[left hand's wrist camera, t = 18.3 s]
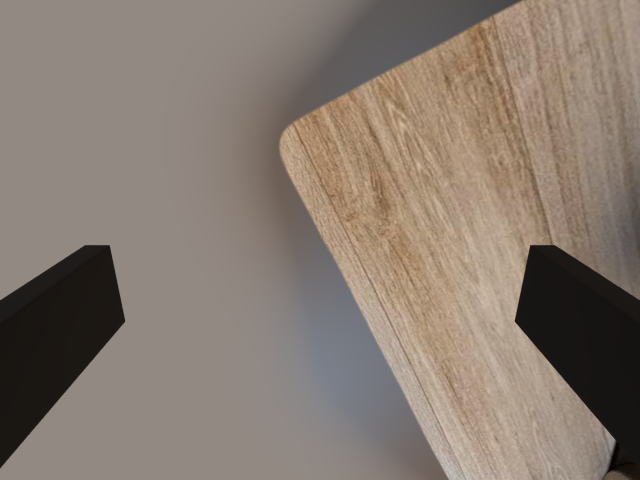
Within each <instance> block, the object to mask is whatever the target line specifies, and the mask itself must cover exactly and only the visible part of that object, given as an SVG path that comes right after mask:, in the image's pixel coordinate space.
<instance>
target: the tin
mask: <svg viewBox="0 0 640 480" xmlns="http://www.w3.org/2000/svg"><path fill="white" fill-rule="evenodd" d="M603 480H640V468H639V467H638V466H637V464H633V463H631V464H624V465H620V466H618V467H615V468H614V469H612V470H610V471H609V472H608V473H607V474H606V475H605V477H604V478H603Z"/></svg>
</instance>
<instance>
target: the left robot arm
mask: <svg viewBox="0 0 640 480" xmlns="http://www.w3.org/2000/svg"><path fill="white" fill-rule="evenodd" d="M124 322H125V318H124V313H123V308H122V303H121V298H120V293H119V289H118V284H117V279H116V274H115V269H114V264H113V259H112V254H111V250H110V246H109V245H85V246H83V247H82V248H80V249H79V250H77V251H76V252H74V253H72V254H71V255H69V256H68V257H66V258H65V259H63V260H62V261H60V262H59V263H57V264H56V265H54V266H52V267H51V268H49V269H48V270H46V271H45V272H43V273H42V274H40V275H39V276H37V277H35V278H34V279H33V280H31V281H29V282H28V283H26V284H25V285H23V286H22V287H20V288H19V289H17V290H15V291H14V292H12V293H11V294H9V295H8V296H6V297H5V298H3V299H2V300H0V468H1V467H2V466H3V464H4V463H5V462H6V461H7V460H8V459H9V457H10V456H11V455H12V454H13V453H14V451H15V450H16V449H17V448H18V447H19V446H20V444H21V443H22V442H23V441H24V440H25V439H26V437H27V436H28V435H29V434H30V433H31V431H32V430H33V429H34V428H35V427H36V426H37V425H38V423H39V422H40V421H41V420H42V419H43V417H44V416H45V415H46V414H47V413H48V412H49V410H50V409H51V408H52V407H53V406H54V404H55V403H56V402H57V401H58V400H59V399H60V397H61V396H62V395H63V394H64V393H65V392H66V390H67V389H68V388H69V387H70V386H71V385H72V383H73V382H74V381H75V380H76V379H77V377H78V376H79V375H80V374H81V373H82V372H83V370H84V369H85V368H86V367H87V366H88V365H89V363H90V362H91V361H92V360H93V359H94V358H95V356H96V355H97V354H98V353H99V352H100V350H101V349H102V348H103V347H104V346H105V345H106V343H107V342H108V341H109V340H110V339H111V338H112V336H113V335H114V334H115V333H116V332H117V331H118V329H119V328H120V327H121V326H122V325H123V323H124ZM515 322H516V323H517V325H518V326H519V327H520V328H521V329H522V331H523V332H524V333H525V334H526V335H527V336H528V338H529V339H530V340H531V341H532V342H533V343H534V345H535V346H536V347H537V348H538V349H539V351H540V352H541V353H542V354H543V355H544V356H545V358H546V359H547V360H548V361H549V362H550V363H551V365H552V366H553V367H554V368H555V369H556V370H557V372H558V373H559V374H560V375H561V376H562V378H563V379H564V380H565V381H566V382H567V383H568V385H569V386H570V387H571V388H572V389H573V390H574V392H575V393H576V394H577V395H578V396H579V397H580V399H581V400H582V401H583V402H584V403H585V405H586V406H587V407H588V408H589V409H590V410H591V412H592V413H593V414H594V415H595V416H596V417H597V419H598V420H599V421H600V422H601V423H602V425H603V426H604V427H605V428H606V429H607V430H608V432H609V433H610V434H611V435H612V436H613V437H614V439H615V440H616V441H617V442H618V443H619V444H620V446H621V447H622V448H623V449H624V450H625V452H626V453H627V454H628V455H629V456H630V457H631V459H632V460H633V461H634V462H635V463H636V464H637V466H638V467H639V468H640V300H638V299H637V298H635V297H634V296H632V295H631V294H629V293H628V292H626V291H625V290H623V289H621V288H620V287H618V286H617V285H615V284H614V283H612V282H611V281H609V280H608V279H606V278H605V277H603V276H601V275H600V274H598V273H597V272H595V271H594V270H592V269H591V268H589V267H588V266H586V265H584V264H583V263H581V262H580V261H578V260H577V259H575V258H574V257H572V256H571V255H569V254H568V253H566V252H564V251H563V250H561V249H560V248H558V247H557V246H555V245H530V249H529V254H528V259H527V264H526V269H525V274H524V279H523V284H522V288H521V293H520V298H519V303H518V308H517V313H516V318H515Z"/></svg>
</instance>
